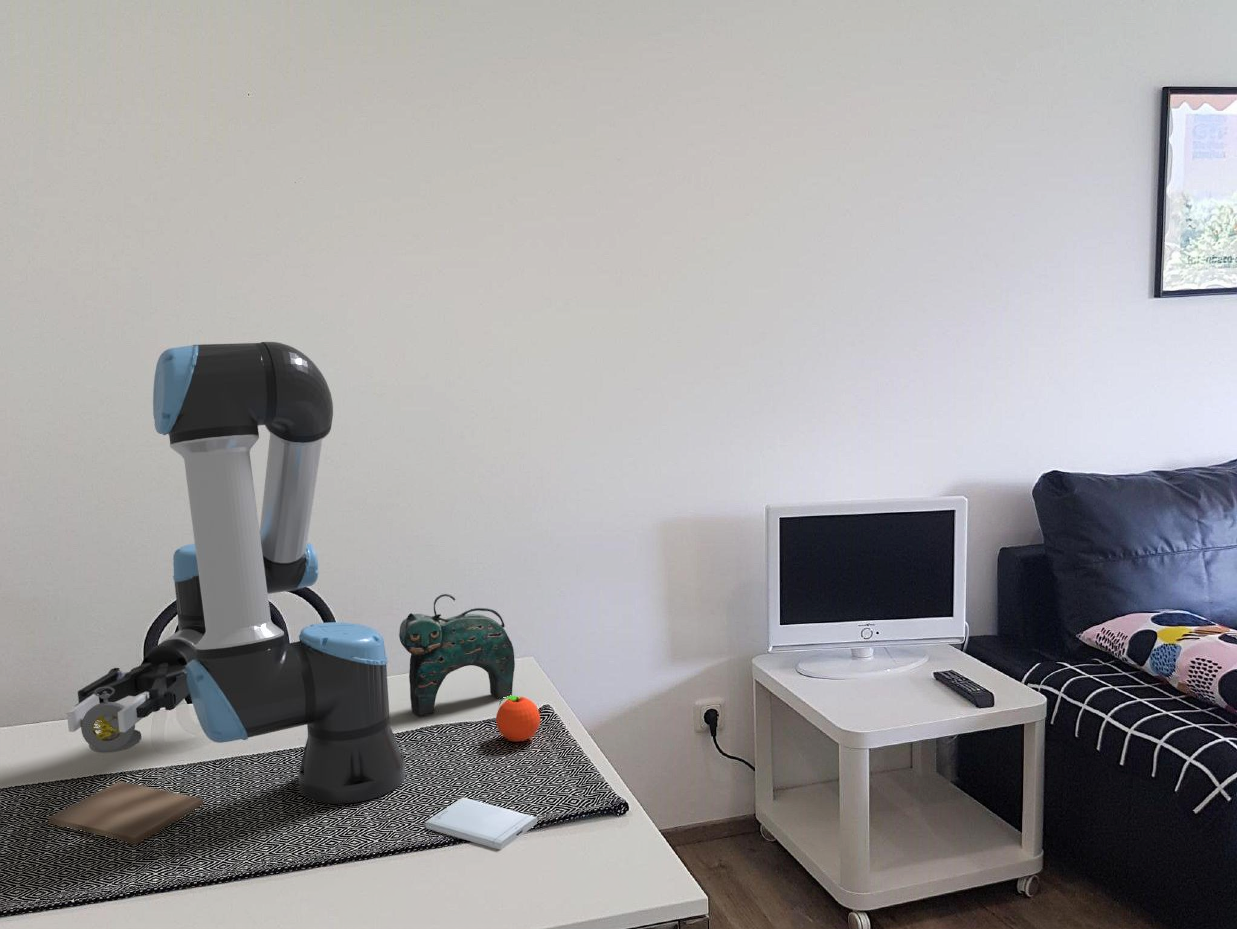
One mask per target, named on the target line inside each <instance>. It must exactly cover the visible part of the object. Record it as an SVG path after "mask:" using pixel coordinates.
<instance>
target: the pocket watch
mask: <svg viewBox="0 0 1237 929" xmlns="http://www.w3.org/2000/svg"><path fill="white" fill-rule="evenodd" d="M101 688H109V689H111V690H113V692H112V693H111V694H107V692H106V691H104V692H103V694H102V695H98V694H97V693H96V691H97V690H99V689H101ZM114 692H115V690H114V689H113V688H111V687H106V686H104V687H99V688H97V689H95V691H94V694H95V695H96V696H99V697H100V698H101V699H104V703H100V704H97V705H95V706H93V707H92V708H91V709H90V710H88V711H87V713H86V714H85V716H84V718H83V720H82V725H81V727H80V729H81V735H82V737H83V739H84V741H85V742H86V743H87V744H88V747H89V748H90V750H91V751H93V752H94V753H101V754H107V753H109V754H110V753H116V752H117V753H118V752H121V751H126V750H128V749H131V748H132V747H135V746H136V745H138V744H139V743H140V742H141V741H142V733H141V731H139V730H137V729H136V724H135V725H133V726H132V727H131V728H130V729H128V730H127V731H126V732H119V722H118V712H119V711H121V710H122V709H123V708H125V707H126V706H125V705H123V704H121V703H119V702H108V698H109V697H110V696H111V695H113V694H114ZM96 731H97V732H96ZM98 732H99V733H98Z"/></svg>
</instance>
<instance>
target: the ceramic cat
mask: <svg viewBox="0 0 1237 929" xmlns="http://www.w3.org/2000/svg"><path fill="white" fill-rule="evenodd" d="M443 597H444V598H445V597H449V598H450V599H451V600H453V601H454V602H455V600H456V598H455V597H454V596H453V595H451V594H448V593H443V594H440V595H439V596H437V597H436V598H435V599H434V602H433V613H434V615H433V616H431V615H428V614H424V613H423V614H422V613H412V612H411V613H409V614H408V615H407V617H405V619H403V620H402V622H400V623H401V624H400V626H399V634H398V637H399V638H398V639H399V640H400V643H401V645H402V647H403V648H404V649H405V650H406V651H407V653H409V654H410V658H409V671H408V672H409V677H408V679H409V695H410V696H409V698H410V707H411V711H412V712H413V714H414V715H415V716H416V717H418V718H421V717H422V718H423V717H427V716H431V715H433V714H434V713H435V704H436V700H437V694H438V692H439V689H440V687H441V686H442V683H443V682H444V680H445V679H446V677H447V676H448V675H450V673H452V672H455V671H456V670H457V671H458V670H459V669H461V668H465V667H468V666H469V667H470V666H473V667H478V668H481V669H482V670H484V671H486V673H487V675H488V680H489V692H490V693H489V694H490V695H491V696H493V698H495V699H498V698H502V699H503V697H507V696H510V695H511V696H513V685H514V684H513V683H514V677H515V676H514V674H515V668H516V667H515V664H516V661H515V651H514V646H513V643H512V641H511V639H510V637H509V636H508V633H507V632H506V630H505V629H504V628H505V627H506V626H505V623H504V619H503V618H502V615H500V613H498V612H497V611H496V610H494V609H491V608H488V607H487V608H486V607H475V608H471V609H468V610H465V611H464V612H462V613H460V614H458V615H455V616H451V617H447V618H442V617H441V616H442V614H441V613H439V614H437V610H436V603H437V602H438V600H439V599H440V598H443ZM475 611H477V612H478V611H479V612H491V613H492V614H494V615H495V616H497V617H498V618H499V620H500V622H501V624H500V623H499V622H497V621H496V620H494V618H490V617H488V616H487V615H484V614H480V613H479V614H478V613H471V612H475Z"/></svg>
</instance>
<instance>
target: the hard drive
mask: <svg viewBox="0 0 1237 929" xmlns="http://www.w3.org/2000/svg"><path fill="white" fill-rule="evenodd" d="M537 822H538V823H539V821H538V817H537V816H534V815H530V814H526V813H522V812H518V811H515V810H512V809H511V810H510V809H507V808H503V807H501V806H497V805H496V806H495V805H492V804H489V803H485V802H481V801H478V800H474V799H471V798H466V797H461V798H460V799H458V800H457V801H455V802H453V803H451V805H449V806H447V807H445V808H444V809H443V810H441V811H440V812H438V813H436V814H435V815H433V816H432V817H430V818H429V819H428V820H427V821H426V822H425V829H427V830H430V831H431V830H432V831H434V832H438V833H441V834H444V835H448V836H451V837H454V838H458V839H461V840H466V841H468V842H469V841H470V842H472V843H476V844H479V845H481V846H482V845H483V846H486V847H489V848H494V849H496V850H499V851H502V850H503V849H505V848H506V847H507V846H509V845H510V844H511V843H513V842H514V841H516V839H518V838H519V837H521V836H522V835H524V834H525V833H526V832H528V831H529V830H531V828H533V827H534V826H536V825H537V824H538V823H537Z"/></svg>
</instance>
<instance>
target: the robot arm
mask: <svg viewBox="0 0 1237 929" xmlns="http://www.w3.org/2000/svg"><path fill="white" fill-rule="evenodd" d="M152 391H153V393H152V411H153V412H152V414H153V420H154V428H155V431H156V433H157V434H160V435H162V436H166V435H168V437H169V444H170V445H169V447H170V448H171V449H172V450H173V451H175V452H176V453H177V454H179V455H180V456H181V457H182V458H183V462H184V469H185V470H184V471H185V477H186V486H187V492H188V494H187V495H188V499H189V500H188V502H189V510H190V516H191V524H192V532H193V540H194V543H190V544H186V545H183V546H181V547H179V548H178V549H176V550H175V551H174V554H173V559H172V560H173V576H172V577H173V582H174V588H175V589H174V590H175V600H176V610H177V626H178V630H177V631H176V632H175V633H174V634H171V635H170V636H169V637H167V638H166V639H164V640H163V641H161V643H159V644H158V645H156V646H155V647H152V649H150V650H149V651H148V652H147V653H146V654H145V656H144V657H143V660H142V662H141V664H140V665H139V666H136V667H133V668H132V669H131V670H130V671H128V672H122V670H120V668H119V667H113V668H111V669H110V670H109V671H108V672H107V673H105V675H103V676H101V677H100V678H98V679H96V680H94V681H93V682H91V683H89V684H87V685H86V686H84V687H83V688H82V689H79V690H77V700H78V703H77V704H75V705H74V707H72V708H71V709H70V710H68V711H66V717H67V726H68V733H71V732H73V733H74V732H76V731H77V730H79V729H81V725H82V720H83V718H84V716H85V714H86V713H87V711H88V710H90V709H91V708H92V707H93V706H95V705H97V704H100V703H104V699H101V698H100V697H99V696H96V695H95V694H94V691H95V689H97V688H99V687H104V686H106V687H111V688H113V689H114V690H115V692H114V694H113V695H111V696H110V697H109V698H108V702H115V703H117V702H118V701H120V700H124V699H125V698H127V697H136V698H135V699H133V700H132V701H131V702H130V703H129V704H128V705H126V706H125V708H123V709H122V710H121V711H119V712H118V722H119V732H126V731H127V730H128V729H130V728H131V727H132V726H133V725H135V726H136V724H137V723H139V722H140V721H141V720H142V719H143V718H147V717H148V716H149V715H151V714H153V713H156V712H159V711H160V710H161V708H162V709H163V708H164V709H165V711H173V710H174V709H176V708H177V706H178V705H179V704H181V702H182V701H184V700H185V698H187V697H188V695H190V699H191V702H192V706H193V710H194V712H195V714H196V717H197V720H198V723H199V725H200V727H201V729H202V731H203V733H204V734H205V736H206V737H207V738H208V740H211V741H212V742H214V743H220V744H221V743H222V744H223V743H227V742H235V741H239V740H243V741H247V740H248V739H249V738H252V737H257V736H262V735H265V734H271V733H275V732H280V731H284V730H289V729H293V728H296V727H301V726H305V725H306V727H307V739H306V742H305V746H304V749H303V754H302V758H301V762H300V765H299V769H298V778H297V779H298V787H299V792H300V794H301V795H302V796H303V797H305V798H306V799H309V800H311V801H313V802H317V803H321V802H322V803H323V804H330V805H331V804H332V805H334V804H335V805H340V804H354V803H360V802H365V801H369V800H373V799H375V798H379V797H381V796H384V795H387V794H388V793H390V792H392V791H393V790H396V788H397V789H398V787H399V786H400V785H402V783H403V782H404V780H405V778H406V762H405V758H404V756H403V754H402V752H401V751H400V748H399V746H398V742H397V739H396V737H395V735H394V732H393V730H392V728H391V721H390V720H391V719H390V718H391V717H390V703H389V690H388V689H389V688H388V687H389V686H388V670H387V666H388V665H387V664H388V659H387V654H386V647H385V641H384V638H383V635H382V634H381V632H379V631H378V630H376V629H375V628H373V627H371V626H368V625H367V626H366V625H363V624H360V623H353V622H341V621H338V622H336V621H335V622H333V621H332V622H320V623H319V622H318V623H314V624H310V625H309V626H305V627H303V628H302V629H301V631H300V634H299V636H298V641H293V642H288V643H286V637H285V631H283V629H281V628H280V627H278V626H277V625H276V624H274V623H273V621H272V619H271V618H272V617H271V609H270V602H269V601H270V600H269V596H268V595H270V594H271V595H272V594H277V593H285V592H294V591H296V590H299V589H303V588H307V587H311V586H313V585H315V584H316V582H317V580H318V577H319V560H318V555H317V552H316V549H315V548H314V546H313V545H312V544H311V543H310V542H308V537H309V533H310V532H309V531H310V525H311V519H312V518H311V517H312V512H313V511H312V510H313V505H314V504H313V503H314V498H315V492H316V483H317V478H318V472H319V464H320V457H321V451H322V444H323V443H322V442H323V440H324V439H325V438H327V436H328V435H330V432H331V430H332V424H333V419H334V418H333V417H334V404H333V403H334V402H333V398H332V393H331V391H330V388H329V385H328V382H327V380H326V378H325V376H324V375H323V373H322V372H321V370H320V369H319V367H318V366H317V365H316V364H315V362H314V361H312V360H311V358H309V357H308V356H307V355H306V354H305V353H303V352H302V351H300V350H298V349H297V348H295V347H294V346H291V345H288V344H284V343H282V342H276V341H261V342H246V343H245V342H242V343H241V342H240V343H213V344H212V343H211V344H209V343H208V344H206V343H205V344H203V343H202V344H192V345H184V346H179V347H178V346H177V347H171V348H167V349H165V350H164V351H163V352H162V353H160V355H159V357H158V360H157V363H156V366H155V371H154V380H153V390H152ZM259 426H265V428H266V430H267V432H268V433H269V440H268V441H269V442H268V450H267V459H266V460H267V462H266V467H265V478H264V487H263V488H264V489H263V499H262V505H261V506H262V507H261V509H262V510H261V516H260V524H259V518H258V515H259V514H258V508H257V501H256V492H255V485H254V476H253V469H252V461H251V460H252V459H251V455H250V454H251V450H252V448H253V446H254V445H255V444H256V442H257V441H258V440H259V439H260V434H259ZM104 691H106V692H107V694H111V693H112V692H113V690H111V689H109V688H101V689H99V690H97V691H96V693H97V694H98V695H102V694H103V692H104ZM145 693H146V694H145ZM147 693H148V694H147Z"/></svg>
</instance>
